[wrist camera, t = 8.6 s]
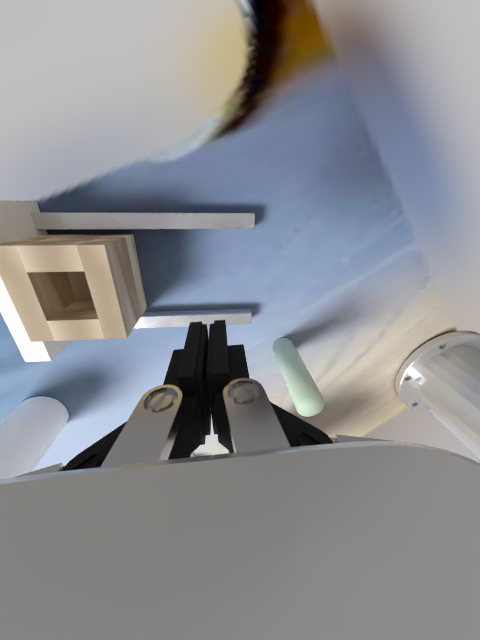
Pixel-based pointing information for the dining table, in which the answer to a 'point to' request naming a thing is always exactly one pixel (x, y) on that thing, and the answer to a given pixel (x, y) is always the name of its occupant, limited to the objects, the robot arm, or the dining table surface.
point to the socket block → (74, 285)
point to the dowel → (298, 379)
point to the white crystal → (29, 434)
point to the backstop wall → (4, 226)
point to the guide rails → (158, 222)
